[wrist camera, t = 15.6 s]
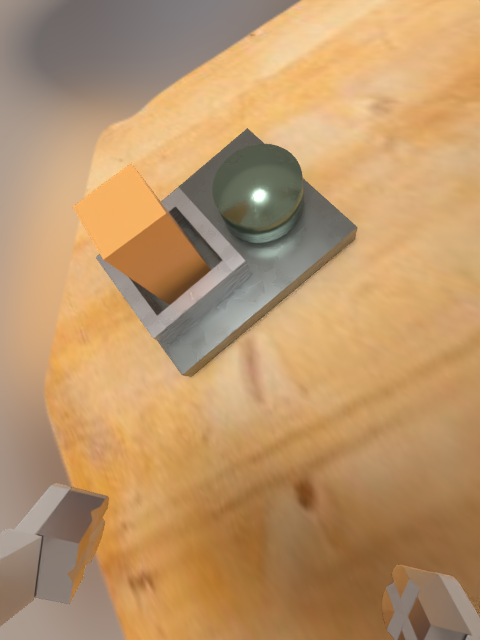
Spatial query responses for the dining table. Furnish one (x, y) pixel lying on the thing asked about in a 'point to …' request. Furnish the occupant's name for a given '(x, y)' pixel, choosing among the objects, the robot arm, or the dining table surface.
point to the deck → (238, 248)
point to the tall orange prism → (141, 236)
